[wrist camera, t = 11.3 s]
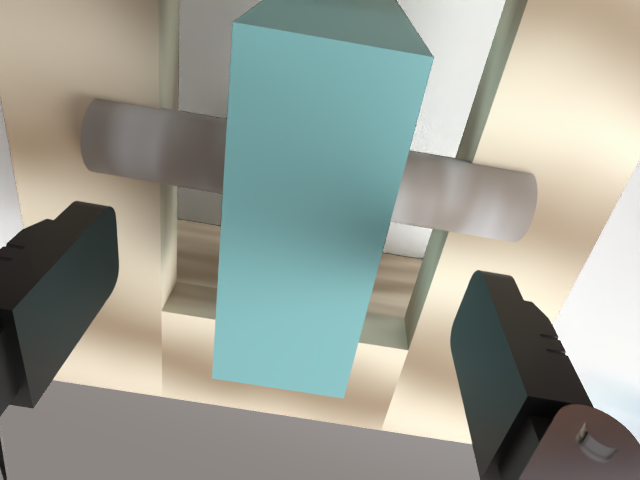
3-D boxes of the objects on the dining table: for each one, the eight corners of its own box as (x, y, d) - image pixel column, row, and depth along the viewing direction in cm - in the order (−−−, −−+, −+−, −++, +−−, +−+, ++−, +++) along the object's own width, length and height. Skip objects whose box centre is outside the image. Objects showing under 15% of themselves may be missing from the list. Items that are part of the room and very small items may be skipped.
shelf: (131, -262, 20) (-153, -519, 9) (612, -168, 21) (922, -294, 9) (145, 240, 33) (35, 400, 21) (446, 289, 33) (494, 470, 22)
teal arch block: (295, -24, 20) (232, 21, 10) (392, -7, 21) (433, 57, 10) (270, 194, 26) (212, 378, 15) (347, 206, 26) (343, 398, 15)
